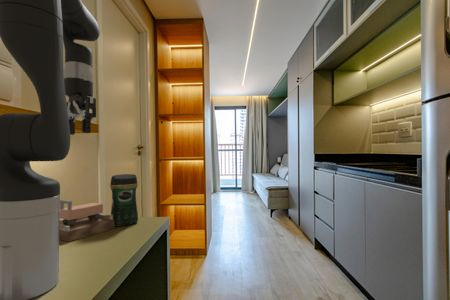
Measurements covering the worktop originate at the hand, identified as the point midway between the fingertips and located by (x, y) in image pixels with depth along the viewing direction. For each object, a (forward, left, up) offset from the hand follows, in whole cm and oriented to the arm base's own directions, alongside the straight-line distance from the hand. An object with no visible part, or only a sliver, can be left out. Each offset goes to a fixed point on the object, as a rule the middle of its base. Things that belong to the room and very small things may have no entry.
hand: (78, 133), depth 68 cm
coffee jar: (+19, +4, -32) cm, 38 cm away
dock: (+6, +8, -32) cm, 34 cm away
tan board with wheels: (+6, +9, -29) cm, 31 cm away
